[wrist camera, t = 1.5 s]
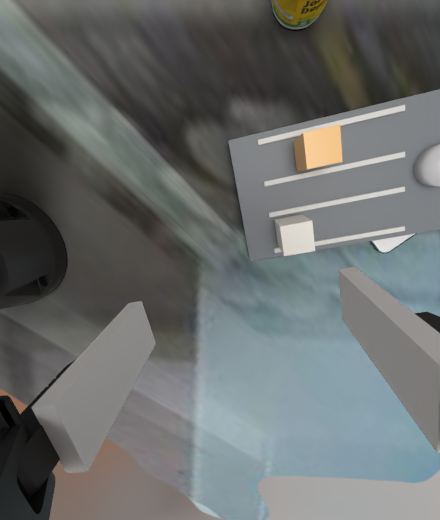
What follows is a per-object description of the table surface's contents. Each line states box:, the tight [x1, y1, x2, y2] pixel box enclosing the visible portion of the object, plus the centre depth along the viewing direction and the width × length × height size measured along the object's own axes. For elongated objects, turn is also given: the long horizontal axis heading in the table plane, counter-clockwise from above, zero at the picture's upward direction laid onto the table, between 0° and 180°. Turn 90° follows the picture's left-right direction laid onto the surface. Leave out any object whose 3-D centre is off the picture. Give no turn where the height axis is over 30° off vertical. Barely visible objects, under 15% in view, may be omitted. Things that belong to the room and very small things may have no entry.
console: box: [228, 89, 440, 261], centre depth 27 cm, size 23×14×4 cm, turn 101°
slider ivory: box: [275, 214, 315, 256], centre depth 26 cm, size 3×3×4 cm
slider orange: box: [293, 124, 343, 171], centre depth 24 cm, size 3×3×4 cm
